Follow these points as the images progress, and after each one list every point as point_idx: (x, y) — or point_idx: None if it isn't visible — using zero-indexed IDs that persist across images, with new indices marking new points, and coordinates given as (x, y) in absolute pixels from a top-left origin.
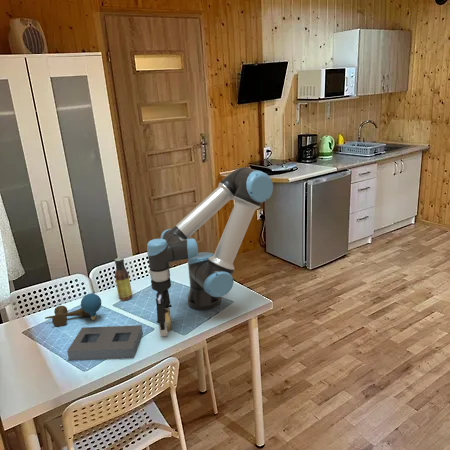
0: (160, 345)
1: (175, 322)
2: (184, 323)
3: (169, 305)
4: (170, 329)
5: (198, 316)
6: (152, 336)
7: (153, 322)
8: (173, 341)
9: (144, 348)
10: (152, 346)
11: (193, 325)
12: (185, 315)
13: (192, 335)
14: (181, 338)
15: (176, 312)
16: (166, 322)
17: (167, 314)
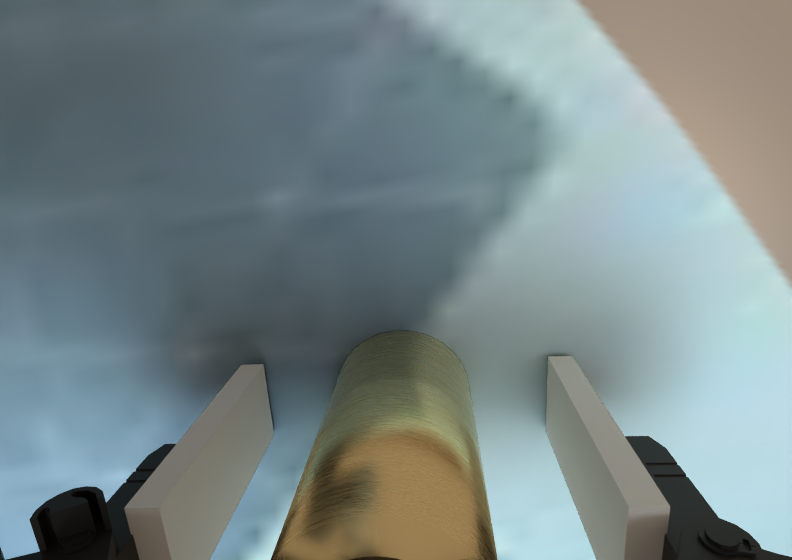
0: (758, 396)
1: (241, 311)
2: (256, 189)
3: (74, 549)
4: (432, 344)
5: (44, 5)
6: (548, 507)
7: (261, 542)
8: (696, 258)
9: (782, 542)
10: (760, 474)
11: (301, 42)
12: (54, 210)
13: (578, 6)
14: (638, 163)
15: (7, 338)
16: (474, 449)
17: (470, 535)
